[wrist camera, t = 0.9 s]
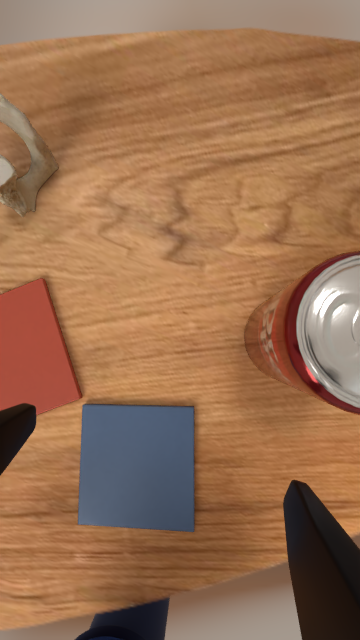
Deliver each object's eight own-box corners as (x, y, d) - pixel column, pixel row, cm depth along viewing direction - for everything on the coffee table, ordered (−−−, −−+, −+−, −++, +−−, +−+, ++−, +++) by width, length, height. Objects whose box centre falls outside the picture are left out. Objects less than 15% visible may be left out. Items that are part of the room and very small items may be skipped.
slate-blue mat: (194, 528, 21) (194, 532, 21) (80, 520, 22) (77, 524, 22) (194, 406, 22) (194, 407, 22) (84, 403, 23) (82, 404, 23)
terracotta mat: (82, 397, 23) (80, 398, 23) (-35, 441, 24) (-40, 443, 23) (44, 278, 25) (41, 277, 24) (-65, 323, 25) (-70, 322, 25)
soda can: (238, 373, 22) (279, 405, 10) (248, 292, 23) (297, 236, 11) (324, 386, 22) (473, 436, 10) (332, 302, 22) (481, 254, 10)
